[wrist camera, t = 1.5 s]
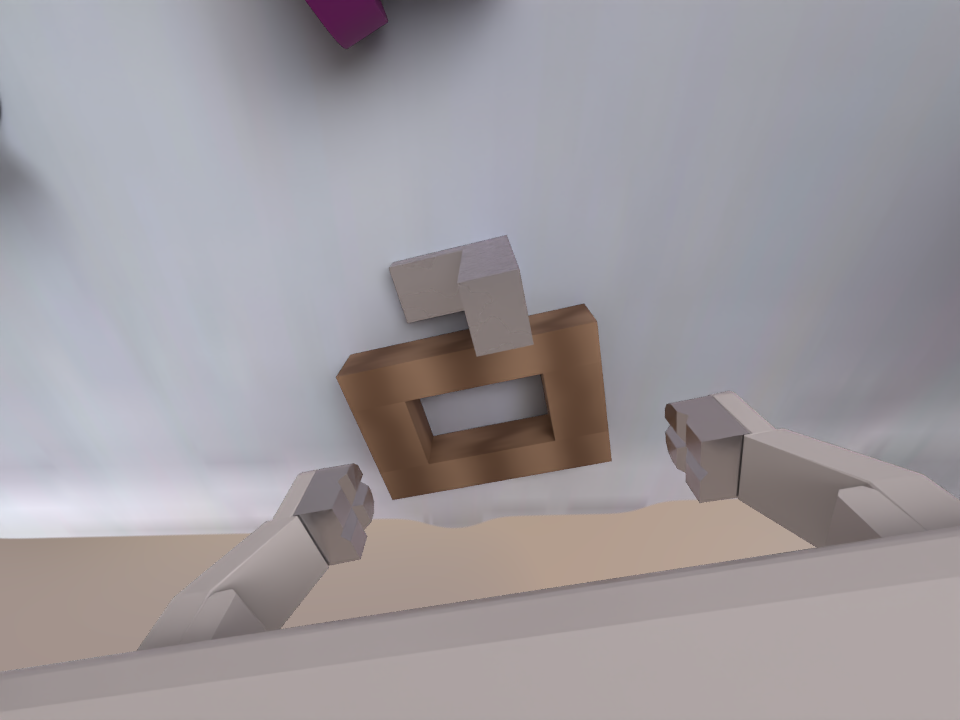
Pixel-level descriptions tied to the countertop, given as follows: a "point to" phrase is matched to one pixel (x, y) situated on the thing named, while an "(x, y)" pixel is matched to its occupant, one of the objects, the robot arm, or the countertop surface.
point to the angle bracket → (469, 292)
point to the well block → (489, 449)
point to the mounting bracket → (349, 18)
